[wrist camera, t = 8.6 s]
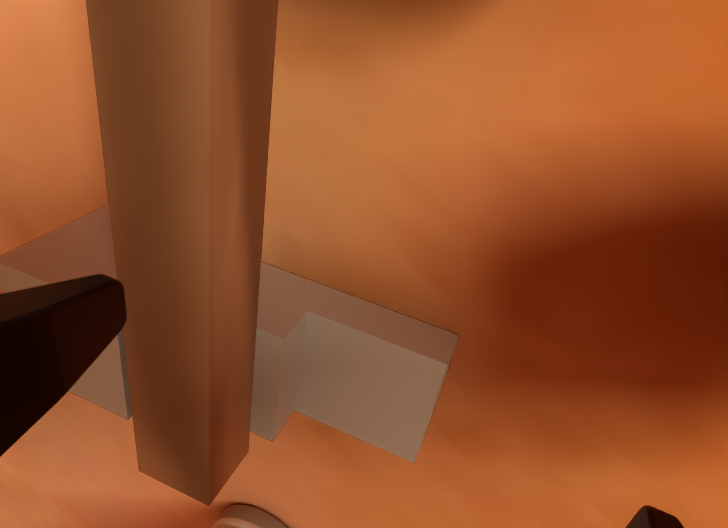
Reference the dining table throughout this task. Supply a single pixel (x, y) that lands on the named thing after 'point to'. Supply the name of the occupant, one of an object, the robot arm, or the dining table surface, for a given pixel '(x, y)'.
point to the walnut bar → (187, 219)
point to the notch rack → (277, 347)
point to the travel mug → (246, 518)
